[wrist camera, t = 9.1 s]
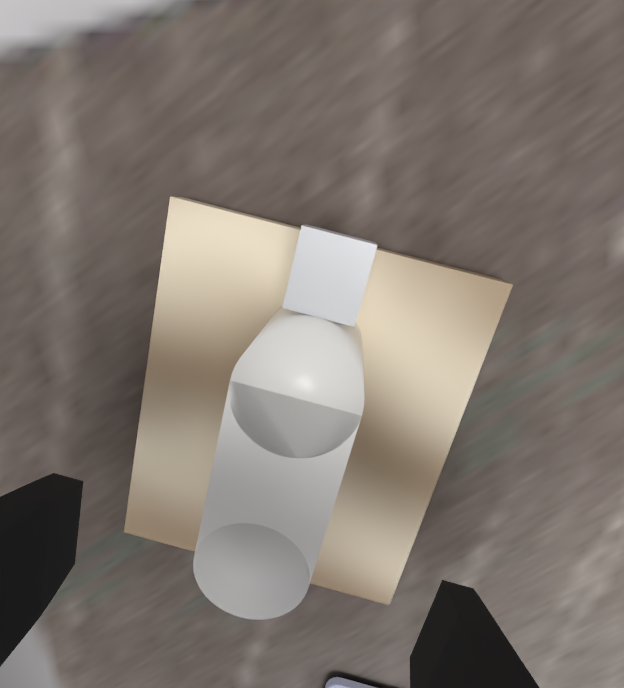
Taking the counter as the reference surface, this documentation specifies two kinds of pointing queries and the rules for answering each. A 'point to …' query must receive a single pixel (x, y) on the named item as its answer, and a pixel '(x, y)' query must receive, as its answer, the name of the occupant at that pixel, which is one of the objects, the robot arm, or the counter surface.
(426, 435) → the birch board
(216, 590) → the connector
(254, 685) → the counter surface
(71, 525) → the robot arm
